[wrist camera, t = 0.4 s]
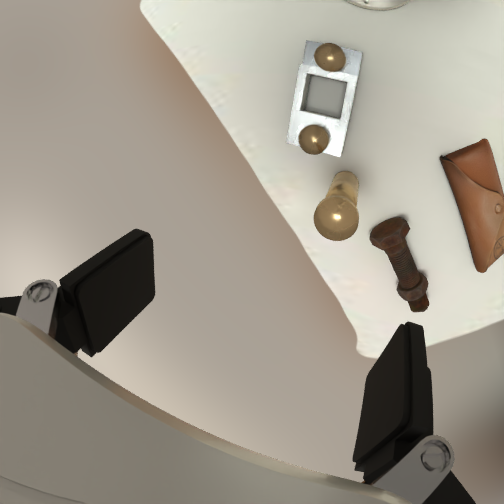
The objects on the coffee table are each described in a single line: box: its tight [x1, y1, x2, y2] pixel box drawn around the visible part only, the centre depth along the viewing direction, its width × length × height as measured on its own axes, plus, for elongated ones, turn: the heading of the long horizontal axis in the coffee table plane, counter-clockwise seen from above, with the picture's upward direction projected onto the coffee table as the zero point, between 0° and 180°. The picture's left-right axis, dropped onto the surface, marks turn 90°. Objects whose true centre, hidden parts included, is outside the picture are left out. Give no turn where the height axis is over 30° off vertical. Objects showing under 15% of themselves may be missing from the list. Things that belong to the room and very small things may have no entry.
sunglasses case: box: [440, 139, 504, 273], centre depth 31 cm, size 18×7×7 cm
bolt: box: [369, 218, 429, 312], centre depth 39 cm, size 6×5×15 cm
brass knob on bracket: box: [286, 41, 363, 157], centre depth 32 cm, size 14×7×4 cm, turn 172°
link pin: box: [314, 171, 359, 241], centre depth 33 cm, size 4×4×13 cm
